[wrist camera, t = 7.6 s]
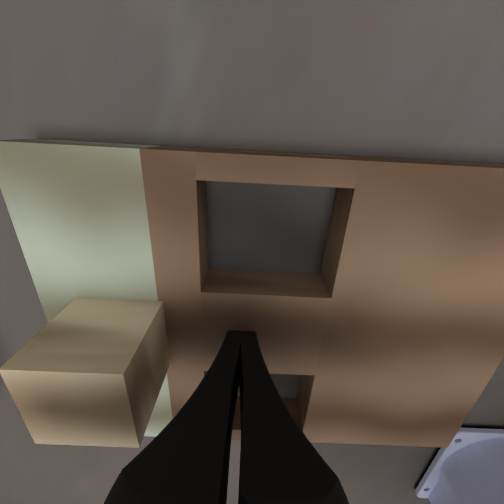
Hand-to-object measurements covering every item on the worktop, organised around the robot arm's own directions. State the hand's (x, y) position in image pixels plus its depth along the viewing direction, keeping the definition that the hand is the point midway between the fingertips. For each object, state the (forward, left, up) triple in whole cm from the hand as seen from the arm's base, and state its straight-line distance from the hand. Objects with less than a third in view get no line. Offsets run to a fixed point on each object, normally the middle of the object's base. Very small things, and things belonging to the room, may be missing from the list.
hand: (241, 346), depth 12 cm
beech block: (0, +6, -1) cm, 6 cm away
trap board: (0, -2, -3) cm, 4 cm away
